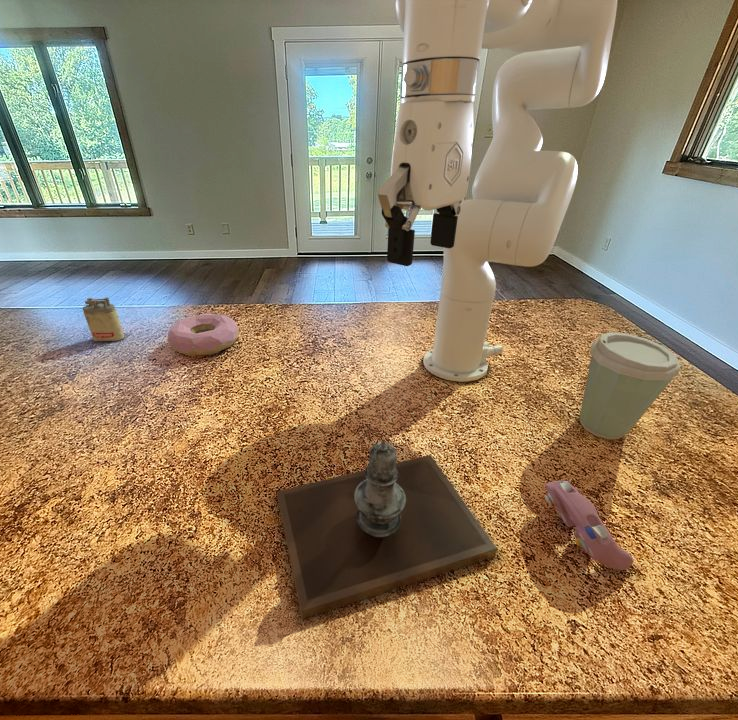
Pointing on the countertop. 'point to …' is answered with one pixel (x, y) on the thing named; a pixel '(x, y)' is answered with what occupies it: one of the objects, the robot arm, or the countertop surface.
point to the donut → (203, 334)
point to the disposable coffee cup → (623, 382)
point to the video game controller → (587, 525)
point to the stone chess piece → (380, 493)
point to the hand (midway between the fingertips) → (421, 254)
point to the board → (376, 554)
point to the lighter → (103, 320)
